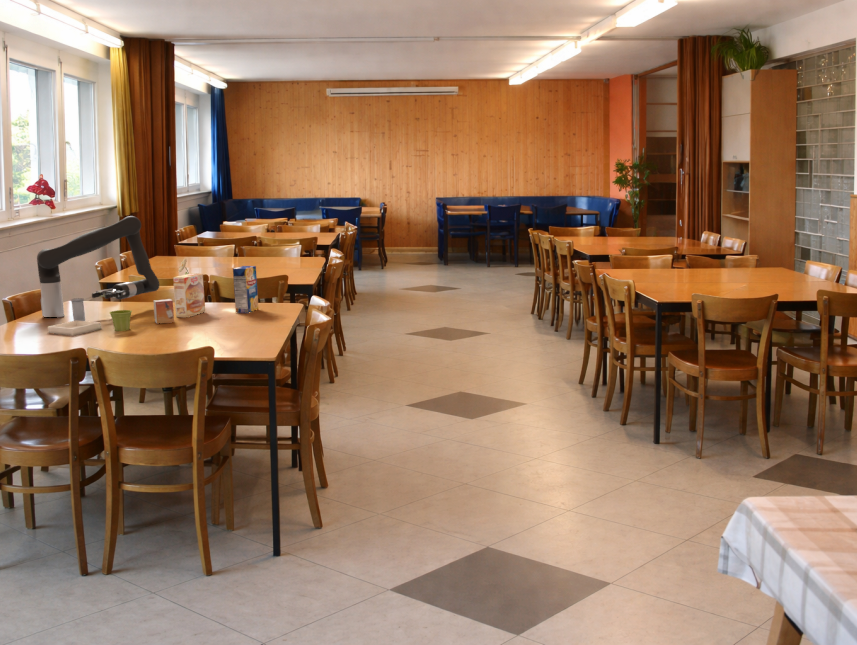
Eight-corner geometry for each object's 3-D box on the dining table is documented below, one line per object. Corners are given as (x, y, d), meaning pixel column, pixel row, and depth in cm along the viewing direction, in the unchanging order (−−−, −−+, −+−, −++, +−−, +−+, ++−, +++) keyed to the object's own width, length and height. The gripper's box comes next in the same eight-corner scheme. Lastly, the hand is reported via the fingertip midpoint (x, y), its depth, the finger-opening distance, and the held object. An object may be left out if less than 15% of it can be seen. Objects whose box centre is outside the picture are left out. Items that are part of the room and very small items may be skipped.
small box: (156, 324, 374) (154, 301, 372) (154, 322, 379) (152, 300, 377) (174, 322, 378) (172, 300, 376) (172, 320, 383) (170, 298, 381)
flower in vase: (181, 303, 430) (177, 256, 425) (203, 302, 431) (199, 256, 426) (176, 307, 417) (172, 259, 412) (198, 307, 418) (195, 258, 413)
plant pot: (120, 328, 367) (118, 309, 365) (138, 329, 364) (136, 310, 362) (106, 332, 358) (104, 313, 356) (124, 333, 355) (122, 313, 354)
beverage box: (235, 313, 399) (232, 268, 395) (246, 309, 409) (243, 265, 405) (248, 313, 397) (245, 268, 393) (258, 309, 407) (255, 266, 403)
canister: (71, 325, 376) (68, 299, 374) (80, 323, 381) (77, 297, 379) (79, 325, 374) (76, 300, 372) (88, 323, 379) (86, 298, 377)
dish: (48, 333, 356) (47, 326, 356) (76, 326, 370) (76, 320, 369) (73, 335, 350) (72, 329, 349) (101, 329, 363) (100, 322, 363)
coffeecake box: (187, 317, 389) (184, 277, 385) (175, 317, 391) (172, 277, 388) (206, 312, 403) (203, 273, 399) (194, 311, 405) (191, 273, 401)
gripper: (113, 282, 403) (87, 287, 389) (134, 283, 397) (108, 288, 383) (115, 297, 404) (89, 303, 390) (136, 298, 398) (110, 304, 384)
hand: (98, 296), depth 386 cm, fingers open, 8 cm apart
